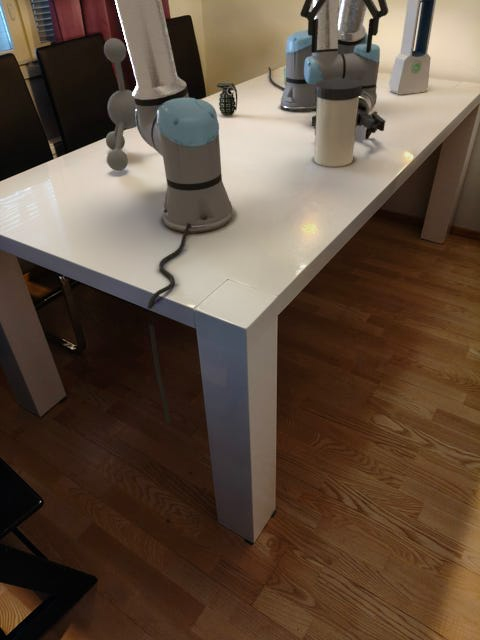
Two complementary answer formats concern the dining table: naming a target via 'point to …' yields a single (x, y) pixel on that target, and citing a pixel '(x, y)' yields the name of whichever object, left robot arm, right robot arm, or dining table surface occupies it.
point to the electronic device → (415, 64)
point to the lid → (338, 89)
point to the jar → (335, 131)
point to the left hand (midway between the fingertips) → (340, 51)
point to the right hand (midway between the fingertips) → (341, 132)
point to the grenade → (227, 99)
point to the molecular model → (119, 108)
